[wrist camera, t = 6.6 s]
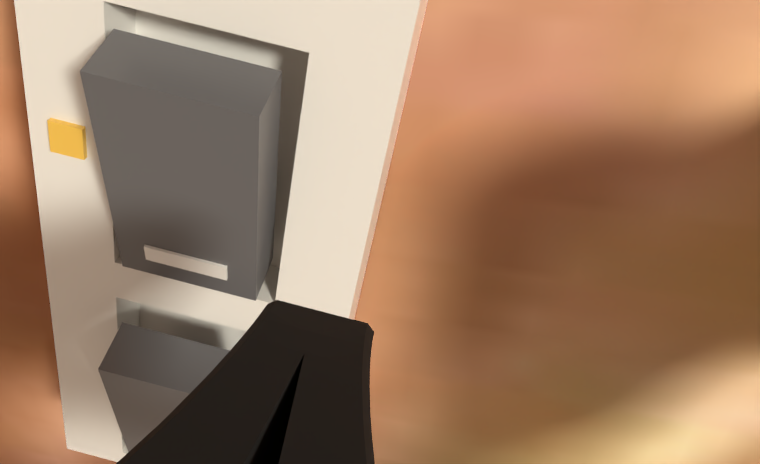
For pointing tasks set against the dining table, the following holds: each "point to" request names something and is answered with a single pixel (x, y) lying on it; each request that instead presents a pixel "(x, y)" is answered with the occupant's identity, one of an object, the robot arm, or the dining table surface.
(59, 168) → the power strip
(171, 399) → the rocker far end
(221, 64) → the rocker middle
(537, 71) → the dining table surface
